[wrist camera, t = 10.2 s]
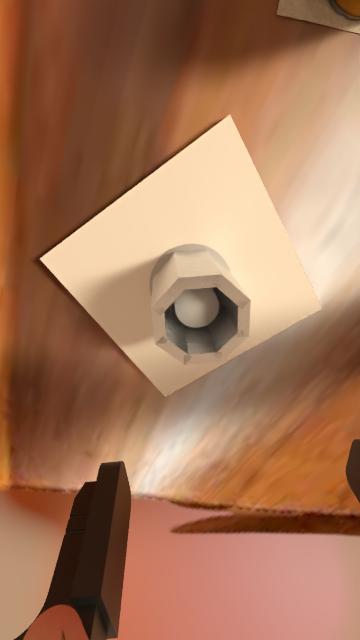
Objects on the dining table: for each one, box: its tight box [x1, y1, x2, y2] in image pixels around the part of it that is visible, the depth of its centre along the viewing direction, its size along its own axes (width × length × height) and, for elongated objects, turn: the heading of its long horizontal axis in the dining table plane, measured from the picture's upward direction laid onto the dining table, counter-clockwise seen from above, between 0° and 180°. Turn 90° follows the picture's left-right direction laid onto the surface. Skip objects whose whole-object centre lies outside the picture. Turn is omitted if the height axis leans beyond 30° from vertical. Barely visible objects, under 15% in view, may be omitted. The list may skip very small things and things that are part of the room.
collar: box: [151, 249, 251, 365], centre depth 22 cm, size 6×6×7 cm
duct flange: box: [40, 115, 322, 397], centre depth 24 cm, size 18×18×6 cm
